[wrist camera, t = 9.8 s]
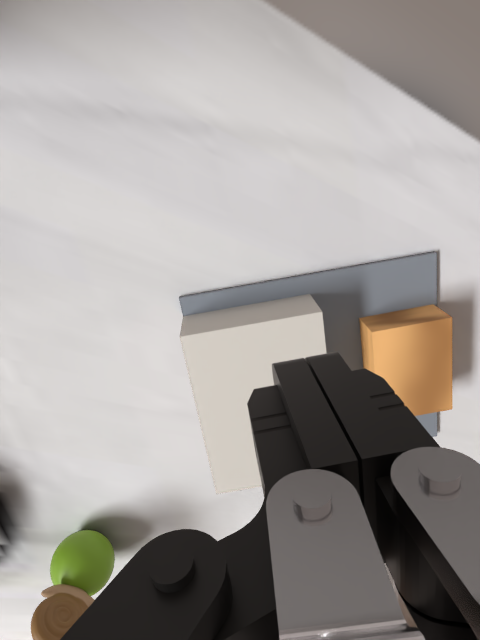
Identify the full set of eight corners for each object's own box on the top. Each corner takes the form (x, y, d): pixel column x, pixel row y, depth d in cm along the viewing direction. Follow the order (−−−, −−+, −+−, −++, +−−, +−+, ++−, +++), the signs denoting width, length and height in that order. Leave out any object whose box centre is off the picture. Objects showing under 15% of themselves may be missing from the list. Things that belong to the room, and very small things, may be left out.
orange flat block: (452, 409, 35) (434, 390, 38) (452, 317, 33) (433, 304, 35) (378, 422, 35) (366, 402, 38) (371, 332, 33) (359, 317, 35)
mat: (218, 471, 40) (219, 474, 40) (179, 296, 34) (179, 298, 34) (435, 433, 40) (437, 435, 40) (434, 251, 34) (436, 252, 34)
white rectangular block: (215, 458, 40) (216, 494, 36) (183, 314, 35) (179, 336, 31) (325, 438, 40) (338, 472, 36) (308, 292, 35) (322, 311, 31)
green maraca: (115, 569, 44) (82, 713, 33) (52, 548, 42) (-4, 691, 31) (138, 532, 42) (112, 669, 31) (74, 508, 41) (23, 643, 30)
